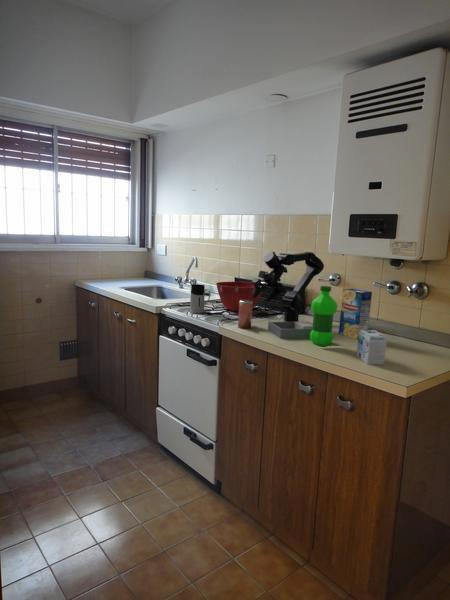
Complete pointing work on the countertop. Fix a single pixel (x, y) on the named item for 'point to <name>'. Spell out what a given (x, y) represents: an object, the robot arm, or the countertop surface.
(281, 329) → the tote
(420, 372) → the countertop surface
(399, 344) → the countertop surface
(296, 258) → the robot arm
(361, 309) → the blue food box
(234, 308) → the mixing bowl
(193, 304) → the grey handled cylinder
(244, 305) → the tin can
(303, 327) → the egg carton
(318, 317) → the plastic bottle
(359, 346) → the light bulb box
